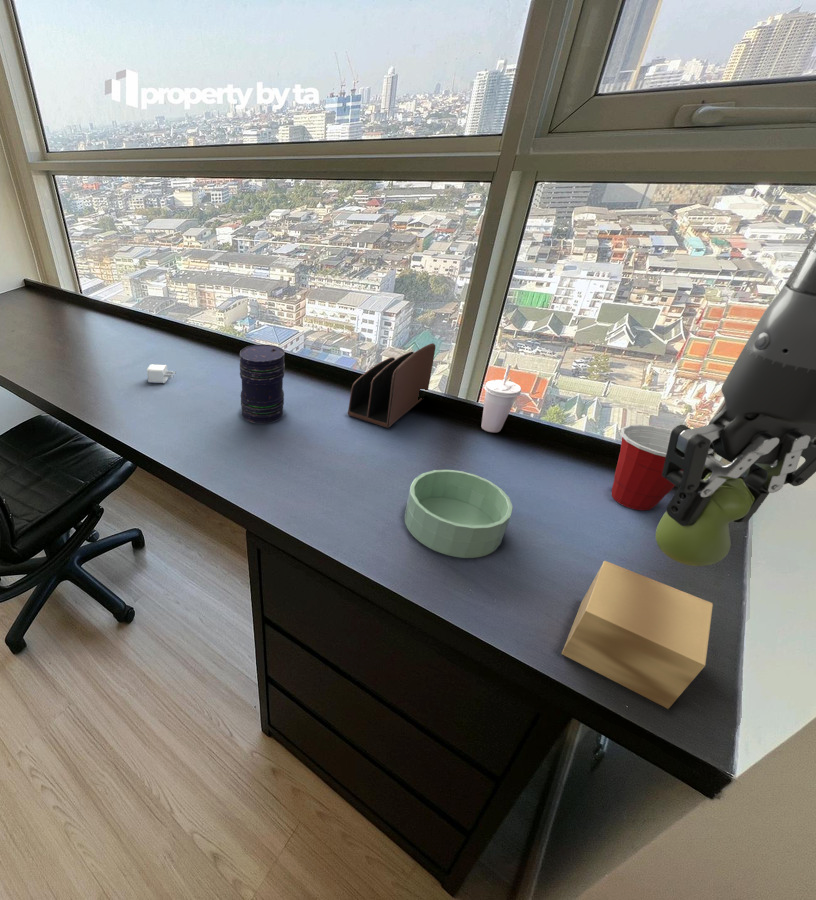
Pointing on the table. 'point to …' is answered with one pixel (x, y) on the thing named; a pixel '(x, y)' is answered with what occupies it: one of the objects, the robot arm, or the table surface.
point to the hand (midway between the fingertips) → (705, 517)
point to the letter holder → (391, 387)
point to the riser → (641, 633)
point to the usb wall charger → (158, 373)
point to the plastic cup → (642, 467)
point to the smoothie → (498, 402)
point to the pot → (457, 513)
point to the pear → (706, 527)
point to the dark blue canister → (262, 383)
